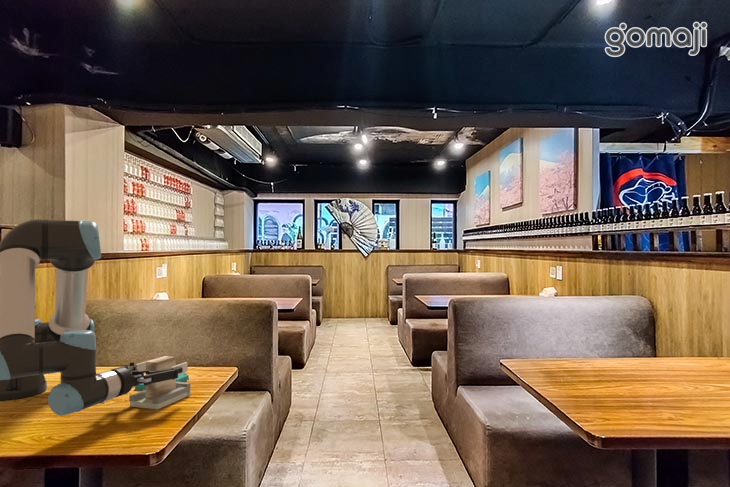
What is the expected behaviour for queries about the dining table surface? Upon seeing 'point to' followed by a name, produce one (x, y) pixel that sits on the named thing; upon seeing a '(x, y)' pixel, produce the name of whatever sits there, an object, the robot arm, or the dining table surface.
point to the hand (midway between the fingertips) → (169, 365)
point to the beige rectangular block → (163, 386)
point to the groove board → (152, 406)
